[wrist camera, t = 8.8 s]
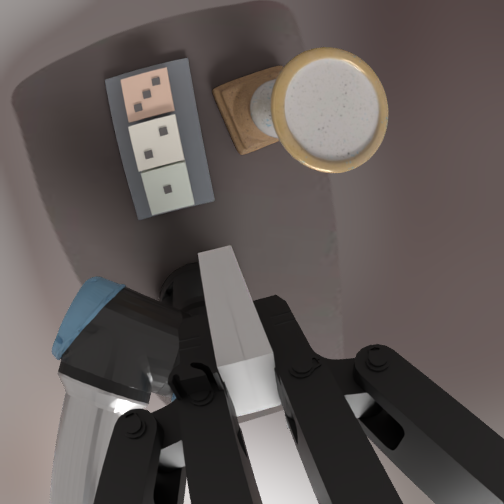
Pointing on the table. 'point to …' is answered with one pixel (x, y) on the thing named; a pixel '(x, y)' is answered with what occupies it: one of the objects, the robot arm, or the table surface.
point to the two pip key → (156, 142)
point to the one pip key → (168, 187)
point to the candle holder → (309, 109)
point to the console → (187, 131)
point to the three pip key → (147, 94)
